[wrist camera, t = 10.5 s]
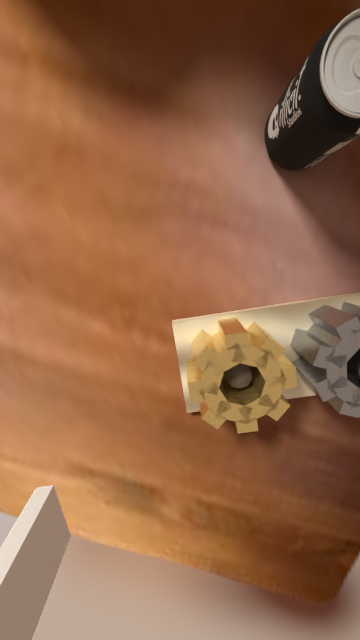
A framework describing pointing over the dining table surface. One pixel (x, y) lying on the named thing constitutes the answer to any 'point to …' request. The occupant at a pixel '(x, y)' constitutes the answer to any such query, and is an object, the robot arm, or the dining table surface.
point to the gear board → (270, 318)
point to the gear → (332, 356)
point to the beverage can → (319, 101)
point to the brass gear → (226, 353)
